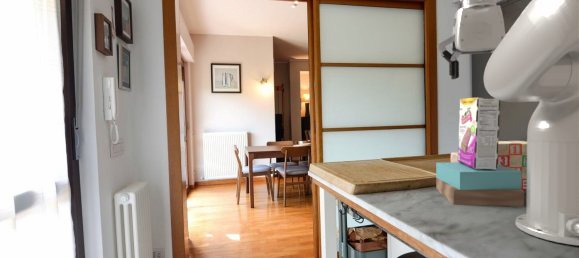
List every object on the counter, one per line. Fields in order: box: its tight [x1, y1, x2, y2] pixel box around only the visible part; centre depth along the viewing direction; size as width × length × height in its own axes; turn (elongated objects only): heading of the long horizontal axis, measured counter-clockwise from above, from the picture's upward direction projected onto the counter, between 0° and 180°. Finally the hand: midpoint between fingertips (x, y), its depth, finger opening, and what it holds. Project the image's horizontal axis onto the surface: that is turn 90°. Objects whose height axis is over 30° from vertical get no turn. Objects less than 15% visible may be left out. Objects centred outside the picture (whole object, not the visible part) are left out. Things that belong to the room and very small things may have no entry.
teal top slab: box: [435, 161, 522, 190], centre depth 75 cm, size 13×13×4 cm
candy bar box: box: [457, 96, 501, 170], centre depth 74 cm, size 11×5×16 cm, turn 170°
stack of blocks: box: [450, 140, 527, 191], centre depth 84 cm, size 21×6×12 cm, turn 83°
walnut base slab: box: [435, 177, 525, 207], centre depth 75 cm, size 14×14×4 cm
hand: (477, 77), depth 73 cm, fingers open, 9 cm apart
